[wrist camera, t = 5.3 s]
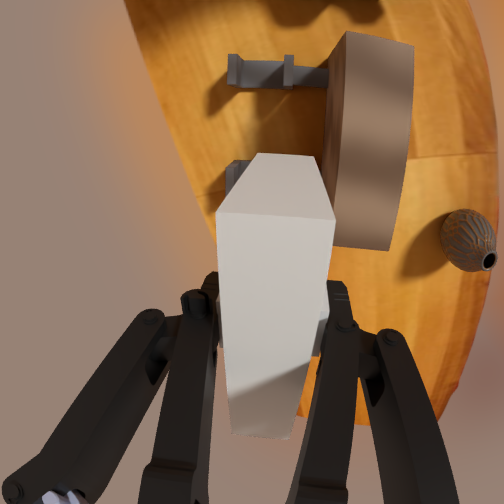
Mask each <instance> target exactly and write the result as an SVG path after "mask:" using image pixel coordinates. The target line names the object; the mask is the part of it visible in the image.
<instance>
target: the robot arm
mask: <svg viewBox="0 0 504 504" xmlns="http://www.w3.org/2000/svg"><path fill="white" fill-rule="evenodd" d="M181 304H182V311H183V314H182V315H178V316H169V317H165V315H164V313H163V312H162V311H161V310H158V309H146V310H144V311H142V312H140V313H139V314H138V315H137V316H136V318H135V319H134V320H133V321H132V323H131V324H130V326H129V327H128V328H127V329H126V331H125V332H124V333H123V335H122V336H121V337H120V339H119V340H118V341H117V342H116V344H115V345H114V347H113V348H112V349H111V350H110V352H109V353H108V355H107V356H106V357H105V359H104V360H103V361H102V363H101V364H100V365H99V367H98V368H97V370H96V371H95V372H94V374H93V375H92V377H91V378H90V379H89V381H88V382H87V384H86V385H85V386H84V388H83V389H82V391H81V392H80V393H79V395H78V396H77V398H76V399H75V400H74V402H73V403H72V405H71V406H70V408H69V409H68V411H67V412H66V414H65V415H64V417H63V418H62V420H61V421H60V422H59V424H58V425H57V427H56V429H55V430H54V432H53V433H52V435H51V436H50V438H49V439H48V441H47V442H46V444H45V445H44V447H43V449H42V450H41V452H40V453H39V454H38V455H37V456H35V457H34V458H33V459H31V460H30V461H29V462H27V463H26V464H25V465H23V466H22V467H21V468H19V469H18V470H17V471H15V472H14V473H13V474H11V475H10V476H9V477H7V478H6V479H5V481H4V482H3V485H2V495H3V498H4V500H5V502H6V503H7V504H95V502H96V501H97V500H98V499H99V497H100V496H101V495H102V493H103V492H104V490H105V488H106V487H107V485H108V483H109V481H110V479H111V478H112V476H113V473H114V472H115V470H116V468H117V466H118V464H119V462H120V460H121V458H122V456H123V455H124V453H125V451H126V449H127V447H128V445H129V443H130V441H131V440H132V438H133V436H134V434H135V432H136V430H137V428H138V426H139V425H140V423H141V421H142V419H143V417H144V415H145V413H146V411H147V410H148V408H149V406H150V404H151V402H152V400H153V399H154V396H155V395H156V393H157V391H158V389H159V387H160V385H161V384H162V382H163V380H164V378H165V377H166V375H167V373H168V371H169V374H168V378H167V383H166V388H165V392H164V397H163V402H162V407H161V412H160V417H159V422H158V427H157V432H156V438H155V443H154V448H153V454H152V459H151V462H150V463H149V464H148V465H147V466H146V467H145V469H144V471H143V475H142V480H141V486H140V492H139V498H138V504H209V497H208V474H209V457H210V442H211V427H212V415H213V401H214V389H215V377H216V365H217V346H218V342H219V345H220V347H221V348H224V347H223V334H222V320H221V306H220V290H219V273H218V272H214V271H213V272H211V273H210V274H209V275H207V276H206V278H205V280H204V282H203V285H202V287H201V289H194V290H190V291H187V292H185V293H184V294H183V295H182V296H181ZM319 353H321V357H320V361H319V365H318V368H317V372H316V375H317V376H316V381H315V387H314V392H313V397H312V402H311V407H310V411H309V416H308V421H307V425H306V430H305V434H304V438H303V442H302V446H301V450H300V454H299V459H298V462H297V466H296V470H295V474H294V477H293V481H292V484H291V488H290V491H289V495H288V498H287V501H286V503H285V504H347V501H348V490H347V488H346V480H347V474H348V467H349V461H350V454H351V447H352V439H353V430H354V421H355V410H356V398H357V383H358V377H360V380H361V384H362V388H363V393H364V397H365V401H366V406H367V410H368V415H369V420H370V425H371V429H372V434H373V439H374V445H375V450H376V455H377V461H378V467H379V472H380V479H381V485H382V492H383V499H384V504H459V499H458V495H457V490H456V486H455V482H454V478H453V474H452V470H451V466H450V462H449V459H448V455H447V452H446V448H445V445H444V442H443V438H442V435H441V432H440V429H439V426H438V423H437V420H436V417H435V414H434V411H433V408H432V405H431V402H430V400H429V397H428V394H427V392H426V389H425V386H424V384H423V381H422V379H421V376H420V373H419V371H418V369H417V366H416V364H415V361H414V359H413V356H412V354H411V352H410V349H409V347H408V345H407V342H406V340H405V338H404V337H403V335H402V334H401V333H400V332H398V331H396V330H394V329H382V330H381V331H379V332H378V334H377V335H375V334H372V333H368V332H366V331H363V330H361V329H360V328H359V325H358V324H357V322H356V321H355V320H353V315H352V310H351V305H350V301H349V296H348V291H347V287H346V286H345V285H344V283H343V282H342V281H333V280H327V281H326V287H325V292H324V297H323V303H322V308H321V313H320V318H319V322H318V327H317V332H316V337H315V341H314V346H313V350H312V354H311V356H318V357H319Z"/></svg>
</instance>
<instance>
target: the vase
mask: <svg viewBox="0 0 504 504" xmlns="http://www.w3.org/2000/svg"><path fill="white" fill-rule="evenodd" d="M440 238H441V245H442V248H443V251H444V253H445V255H446V256H447V258H448V259H449V260H450V262H451V263H452V264H453V265H455V266H456V267H458V268H459V269H461V270H464V271H467V272H476V271H481V270H483V271H489V270H491V269H492V268H493V267H494V266H495V265H496V262H497V252H496V237H495V233H494V230H493V228H492V226H491V225H490V223H489V222H488V220H487V219H486V218H485V217H484V216H482V215H481V214H480V213H478V212H476V211H474V210H470V209H459V210H456V211H454V212H453V213H451V214H450V215H449V216H448V217H447V218H446V219H445V221H444V223H443V225H442V228H441V234H440Z"/></svg>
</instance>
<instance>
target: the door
mask: <svg viewBox="0 0 504 504" xmlns="http://www.w3.org/2000/svg"><path fill="white" fill-rule="evenodd" d="M335 224H336V219H335V216H334V213H333V210H332V207H331V204H330V201H329V198H328V195H327V192H326V189H325V186H324V183H323V180H322V178H321V175H320V172H319V169H318V166H317V164H316V161H315V158H314V156H302V155H288V154H271V153H257V155H256V156H255V157H254V159H253V160H252V161H251V163H250V164H249V166H248V167H247V168H246V170H245V171H244V172H243V174H242V175H241V177H240V178H239V179H238V181H237V182H236V184H235V185H234V186H233V188H232V189H231V191H230V192H229V194H228V195H227V196H226V198H225V199H224V201H223V202H222V204H221V205H220V206H219V208H218V209H217V211H216V234H217V253H218V273H219V290H220V306H221V320H222V334H223V347H224V359H225V371H226V382H227V393H228V403H229V412H230V423H231V432H232V434H237V435H245V436H253V437H262V438H273V439H287V440H289V437H290V434H291V431H292V427H293V423H294V420H295V417H296V413H297V410H298V406H299V402H300V399H301V395H302V391H303V387H304V383H305V379H306V375H307V371H308V367H309V363H310V359H311V354H312V350H313V346H314V341H315V337H316V332H317V327H318V322H319V318H320V313H321V308H322V303H323V297H324V292H325V287H326V281H327V275H328V270H329V264H330V258H331V251H332V245H333V238H334V231H335Z"/></svg>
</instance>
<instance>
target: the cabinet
mask: <svg viewBox="0 0 504 504" xmlns="http://www.w3.org/2000/svg"><path fill="white" fill-rule="evenodd" d="M293 65H294V55H284V61H244V60H243V59H242V58H241V57H240V56H239V55H238V54H228V71H227V84H228V85H230V86H233V87H235V88H271V89H289V90H293V85H297V86H308V87H318V88H327V96H326V113H325V128H324V142H323V154H322V165H321V171H319V172H320V175H321V178H322V180H323V183H324V186H325V189H326V192H327V195H328V198H329V201H330V204H331V207H332V210H333V213H334V216H335V219H336V224H335V231H334V238H333V245H332V246H339V247H350V248H360V249H370V250H380V251H389V248H390V244H391V240H392V236H393V231H394V227H395V222H396V217H397V213H398V208H399V203H400V197H401V192H402V186H403V180H404V174H405V168H406V161H407V154H408V146H409V137H410V128H411V117H412V104H413V86H414V46H412V45H408V44H405V43H401V42H397V41H393V40H389V39H385V38H381V37H376V36H371V35H367V34H361V33H356V32H350V31H346V32H345V33H344V35H343V36H342V38H341V39H340V41H339V42H338V44H337V45H336V47H335V48H334V49H333V51H332V52H331V54H330V55H329V57H328V69H324V68H315V67H304V66H293ZM250 163H251V161H246V160H234V161H233V162H232V163H231V164H229V165H228V166H227V167H226V196H227V195H228V194H229V192H230V191H231V189H232V188H233V186H234V185H235V184H236V182H237V181H238V179H239V178H240V177H241V175H242V174H243V172H244V171H245V170H246V168H247V167H248V166H249V164H250Z"/></svg>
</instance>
